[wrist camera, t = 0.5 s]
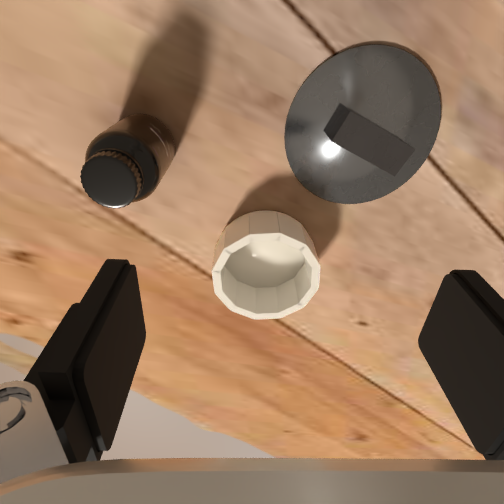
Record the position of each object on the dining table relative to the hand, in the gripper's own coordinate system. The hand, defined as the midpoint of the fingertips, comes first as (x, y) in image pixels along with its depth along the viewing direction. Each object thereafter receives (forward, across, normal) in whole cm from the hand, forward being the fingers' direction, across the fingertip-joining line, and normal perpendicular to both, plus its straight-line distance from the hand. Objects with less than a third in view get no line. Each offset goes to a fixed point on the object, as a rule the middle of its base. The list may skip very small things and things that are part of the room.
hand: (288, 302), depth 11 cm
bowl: (+32, -2, +18) cm, 37 cm away
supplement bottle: (+32, +12, +4) cm, 34 cm away
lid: (+32, -12, +2) cm, 34 cm away
